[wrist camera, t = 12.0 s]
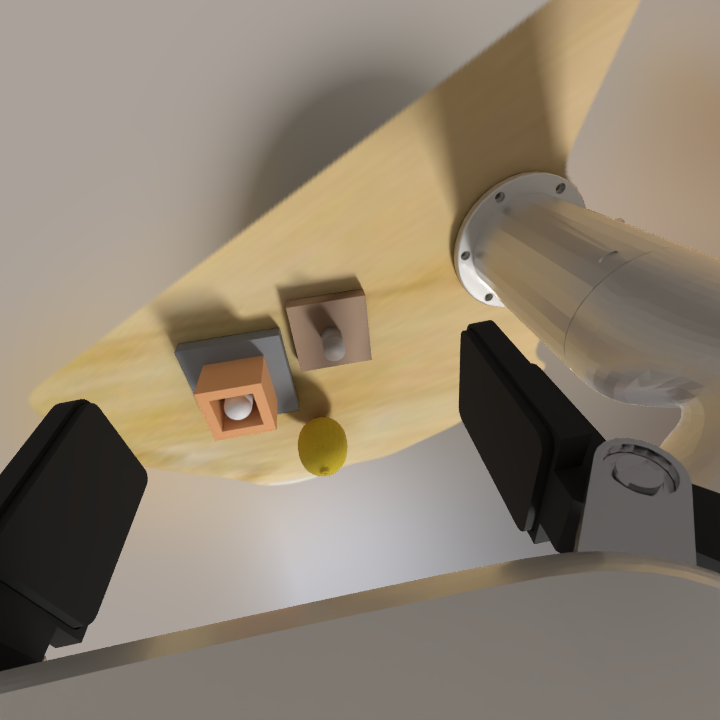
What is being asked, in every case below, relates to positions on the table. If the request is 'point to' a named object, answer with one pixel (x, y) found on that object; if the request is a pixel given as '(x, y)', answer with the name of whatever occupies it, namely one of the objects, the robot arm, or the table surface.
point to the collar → (236, 382)
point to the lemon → (322, 446)
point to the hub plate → (241, 348)
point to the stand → (330, 329)
